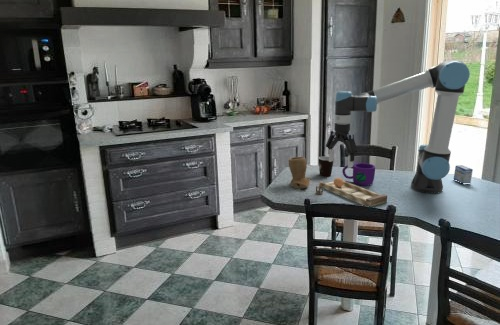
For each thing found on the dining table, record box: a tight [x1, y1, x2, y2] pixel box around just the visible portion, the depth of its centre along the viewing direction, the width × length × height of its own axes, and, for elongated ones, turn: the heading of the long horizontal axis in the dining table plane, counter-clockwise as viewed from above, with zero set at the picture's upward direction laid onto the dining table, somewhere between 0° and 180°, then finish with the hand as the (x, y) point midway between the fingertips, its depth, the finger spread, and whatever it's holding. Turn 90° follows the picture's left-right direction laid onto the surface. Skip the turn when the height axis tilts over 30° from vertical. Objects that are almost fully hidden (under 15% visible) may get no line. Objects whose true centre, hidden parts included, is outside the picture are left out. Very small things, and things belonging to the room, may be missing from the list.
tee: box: [315, 185, 324, 196], centre depth 196 cm, size 3×3×4 cm
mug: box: [341, 162, 376, 187], centre depth 211 cm, size 17×11×10 cm, turn 59°
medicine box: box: [453, 164, 474, 184], centre depth 211 cm, size 8×4×9 cm, turn 13°
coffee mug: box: [318, 156, 334, 178], centre depth 225 cm, size 12×9×10 cm
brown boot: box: [288, 156, 311, 190], centre depth 207 cm, size 15×12×15 cm
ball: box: [333, 177, 345, 187], centre depth 202 cm, size 5×5×5 cm
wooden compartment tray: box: [318, 177, 388, 207], centre depth 195 cm, size 34×12×4 cm, turn 32°
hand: (340, 164), depth 199 cm, fingers open, 13 cm apart
